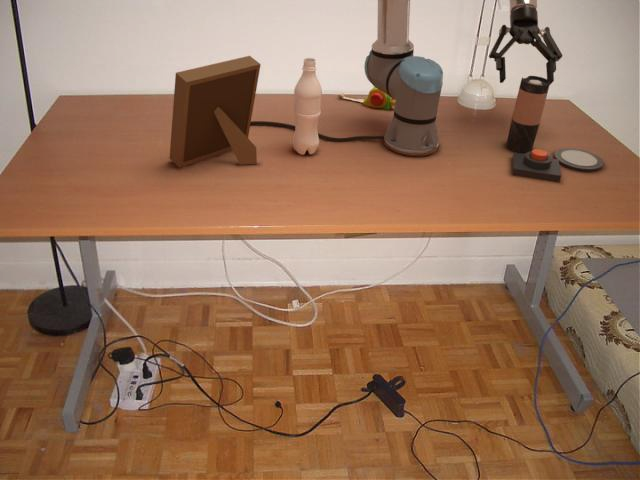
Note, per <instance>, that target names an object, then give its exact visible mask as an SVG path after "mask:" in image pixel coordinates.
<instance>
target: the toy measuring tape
mask: <svg viewBox="0 0 640 480" xmlns="http://www.w3.org/2000/svg"><path fill="white" fill-rule="evenodd" d="M338 98H339V99H340V100H341V99H344V100H349V101H353V102H359V103H361V104H362V105H363V106H366V107H371V108H375V109H382V110H386V111H390V110H391V109H392V108H393V107H395V100H394V99H393V98H391V97H390V96H388V95H387V94H385V93H384V92H383V91H381V90H379V89H377V88H376V87H374V86H373V87H372V88H371V89H370V91H368V95H367V97H366V98H365V99H364V98H362V99H361V98H352V97H347V96H346V94H345V93H344V92H341V93H340V94H339V95H338Z"/></svg>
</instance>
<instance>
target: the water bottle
mask: <svg viewBox="0 0 640 480" xmlns="http://www.w3.org/2000/svg"><path fill="white" fill-rule="evenodd" d="M316 63H317V61H316V59H315V58H311V57H307V58H306V57H305V58H304V59H303V65H302V68H301V70H302V74H301V75H300V77H299V79H298V80H297V82H296V84H295V87H294V90H293V93H294V99H293V100H294V101H293V113H294V118H295V119H294V121H295V126H296V127H295V129H294V134H293V138H292V140H291V141H292V142H291V143H292V147H293V149H294V151H296V153H298V154H300V155H303V156H304V155H305V154H306V152H308V154H309V155H313V154H315V153H316V151H317V150H318V147H319V144H320V137H318V133H319V132H318V130H319V129H318V124H319V118H320V116H321V115H322V111H321V109H322V95H323V89H322V88H323V87H322V86H321V84H320V81H319V79H318V77H317V74H316V71H317V65H316Z"/></svg>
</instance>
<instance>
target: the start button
mask: <svg viewBox="0 0 640 480" xmlns="http://www.w3.org/2000/svg"><path fill="white" fill-rule="evenodd" d="M531 151H532V153H531V158H532V159H534V160H537V161H545V160H546V158H547V155H548V152H547V151H545V150H543V149H540V148H535V149H532V150H531Z"/></svg>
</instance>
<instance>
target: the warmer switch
mask: <svg viewBox="0 0 640 480" xmlns="http://www.w3.org/2000/svg"><path fill="white" fill-rule="evenodd" d="M531 153H532V150H531V152H527V153H525V154H522V153H516V152H513V153H512V157H511V176H515V177H521V178H528V179H535V180H541V181H548V182H552V183H553V182H554V183H560V181H561V178H562V174H561V173H562V172H561V165H560V164H559V160H558V159H554V158H553V157H552V156H550V155H549V154H547V158H546V160H545V161H537V160H534V159H532V158H531Z"/></svg>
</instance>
